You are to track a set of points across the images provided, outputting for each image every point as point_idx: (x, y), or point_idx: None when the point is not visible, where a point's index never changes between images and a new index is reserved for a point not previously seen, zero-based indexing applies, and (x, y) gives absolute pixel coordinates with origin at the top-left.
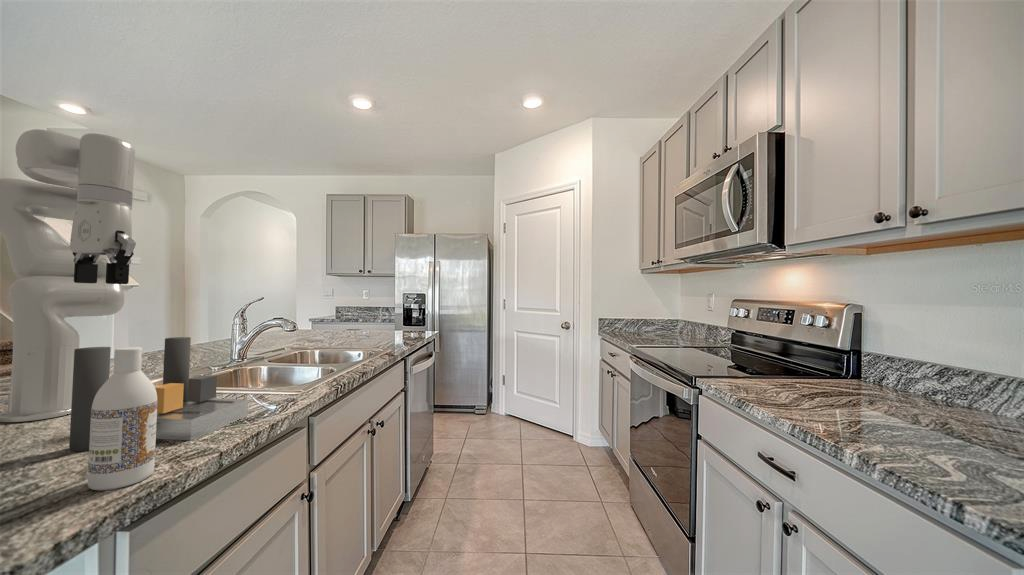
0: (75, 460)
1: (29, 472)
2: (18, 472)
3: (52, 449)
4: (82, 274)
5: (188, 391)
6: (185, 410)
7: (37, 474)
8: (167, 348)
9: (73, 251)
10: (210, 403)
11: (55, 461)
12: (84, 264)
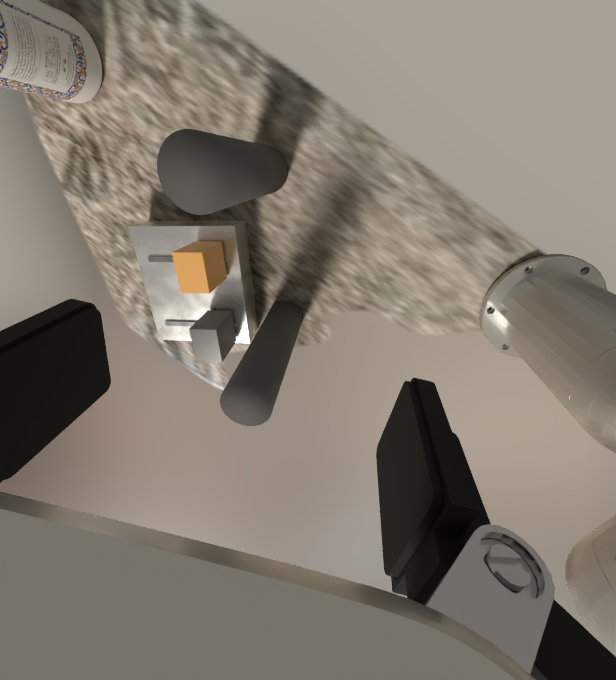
0: (222, 116)
1: (233, 57)
2: (249, 54)
3: (313, 152)
4: (403, 437)
5: (224, 318)
6: None
7: (211, 53)
8: (251, 369)
9: (423, 614)
10: (195, 313)
11: (247, 106)
12: (416, 525)
